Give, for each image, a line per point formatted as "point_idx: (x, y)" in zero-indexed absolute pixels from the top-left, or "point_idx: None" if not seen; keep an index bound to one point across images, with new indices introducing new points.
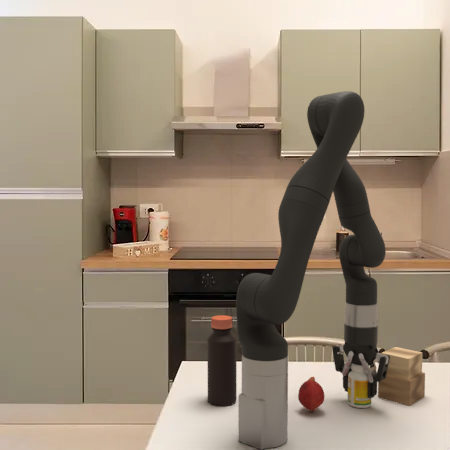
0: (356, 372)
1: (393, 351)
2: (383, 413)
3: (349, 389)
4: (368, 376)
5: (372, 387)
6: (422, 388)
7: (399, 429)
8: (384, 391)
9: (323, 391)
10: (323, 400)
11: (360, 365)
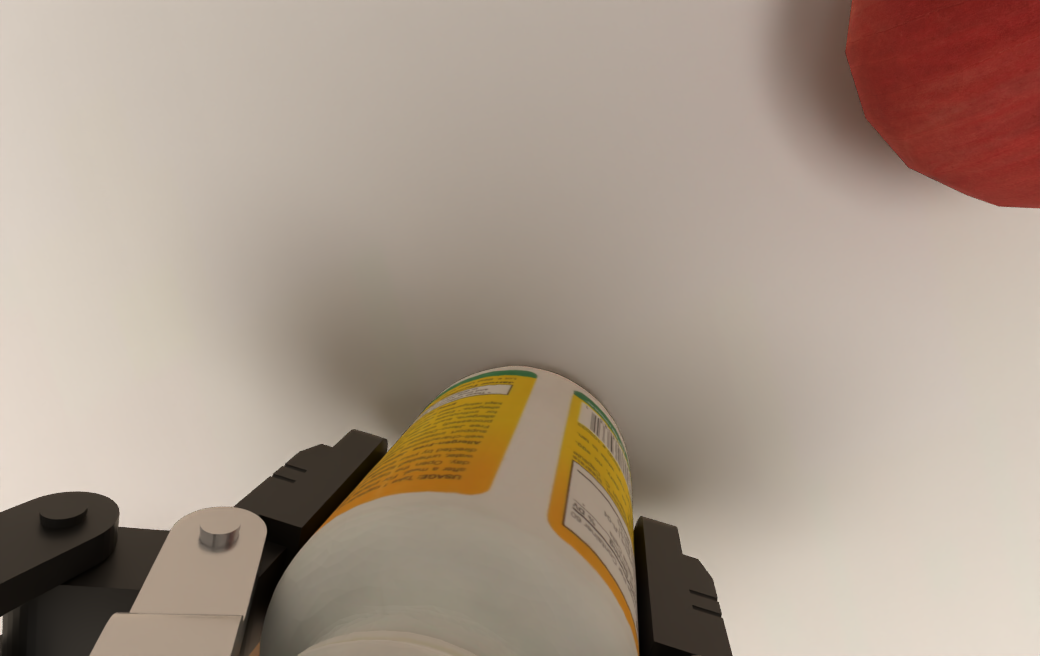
0: (442, 640)
1: None
2: (280, 353)
3: (590, 464)
4: (231, 577)
5: (275, 495)
6: None
7: (62, 66)
8: None
9: (921, 25)
10: (851, 23)
11: None
